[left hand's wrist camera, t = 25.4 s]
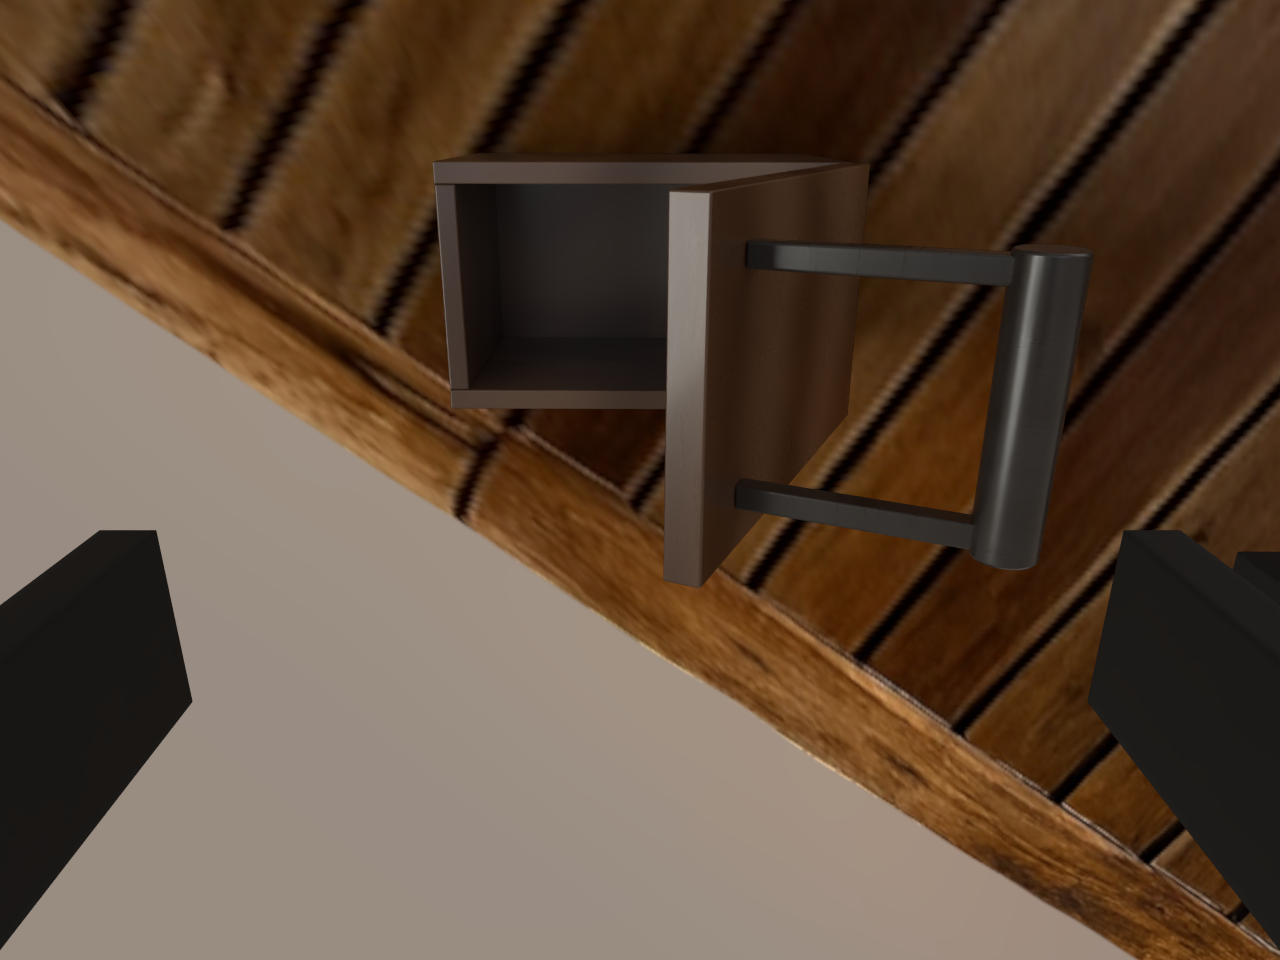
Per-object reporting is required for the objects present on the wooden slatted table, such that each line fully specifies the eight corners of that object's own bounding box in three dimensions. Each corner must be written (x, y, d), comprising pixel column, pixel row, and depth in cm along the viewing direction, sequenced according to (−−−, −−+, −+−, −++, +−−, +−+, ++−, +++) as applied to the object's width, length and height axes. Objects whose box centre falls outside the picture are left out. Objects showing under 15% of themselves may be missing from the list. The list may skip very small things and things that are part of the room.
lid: (662, 581, 24) (1024, 659, 20) (667, 188, 20) (1106, 203, 17) (822, 412, 38) (1052, 441, 35) (841, 162, 34) (1100, 167, 31)
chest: (490, 349, 49) (451, 408, 38) (479, 152, 45) (432, 161, 35) (792, 350, 49) (832, 409, 38) (804, 153, 45) (852, 162, 35)
